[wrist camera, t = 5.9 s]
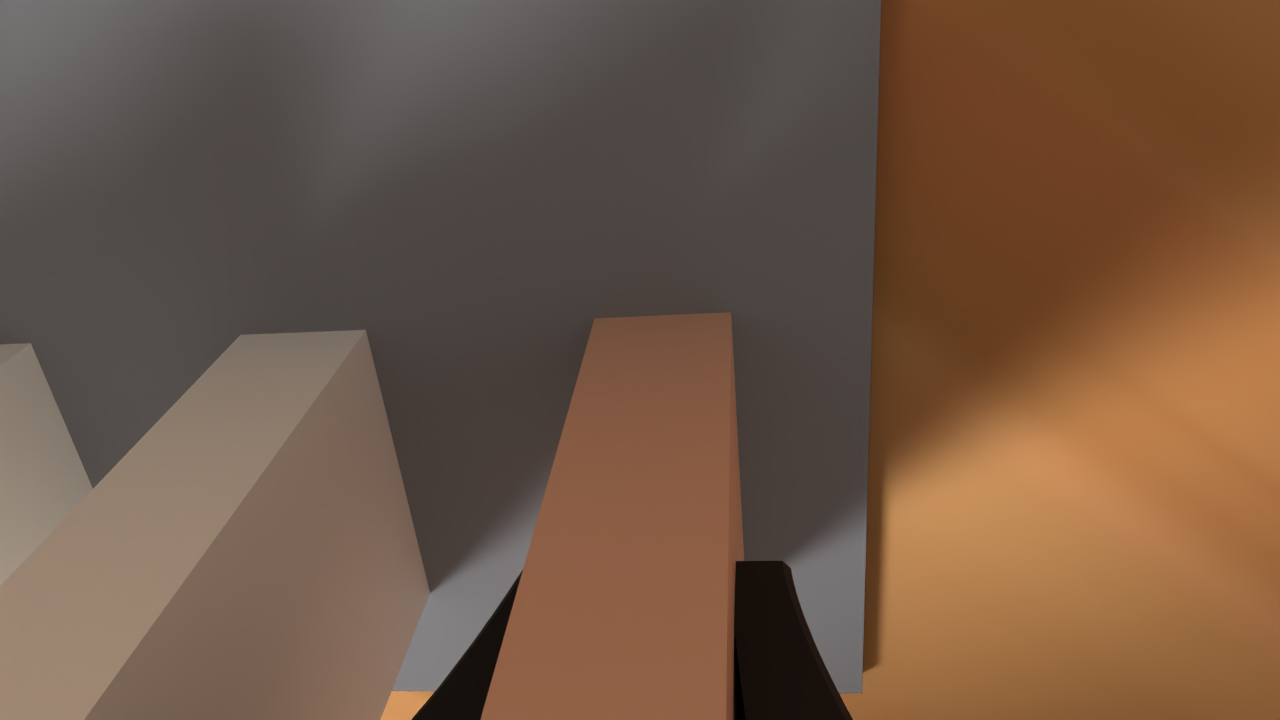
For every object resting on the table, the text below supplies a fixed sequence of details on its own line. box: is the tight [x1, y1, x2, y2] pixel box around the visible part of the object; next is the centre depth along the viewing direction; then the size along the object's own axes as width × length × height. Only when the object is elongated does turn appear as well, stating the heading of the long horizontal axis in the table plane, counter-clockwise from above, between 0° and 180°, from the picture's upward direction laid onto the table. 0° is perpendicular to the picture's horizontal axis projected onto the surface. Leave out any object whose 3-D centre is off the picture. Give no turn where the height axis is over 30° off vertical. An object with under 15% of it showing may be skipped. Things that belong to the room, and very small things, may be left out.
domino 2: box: [480, 312, 744, 720], centre depth 12 cm, size 2×5×9 cm, turn 5°
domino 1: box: [0, 330, 430, 720], centre depth 12 cm, size 2×5×9 cm, turn 5°
